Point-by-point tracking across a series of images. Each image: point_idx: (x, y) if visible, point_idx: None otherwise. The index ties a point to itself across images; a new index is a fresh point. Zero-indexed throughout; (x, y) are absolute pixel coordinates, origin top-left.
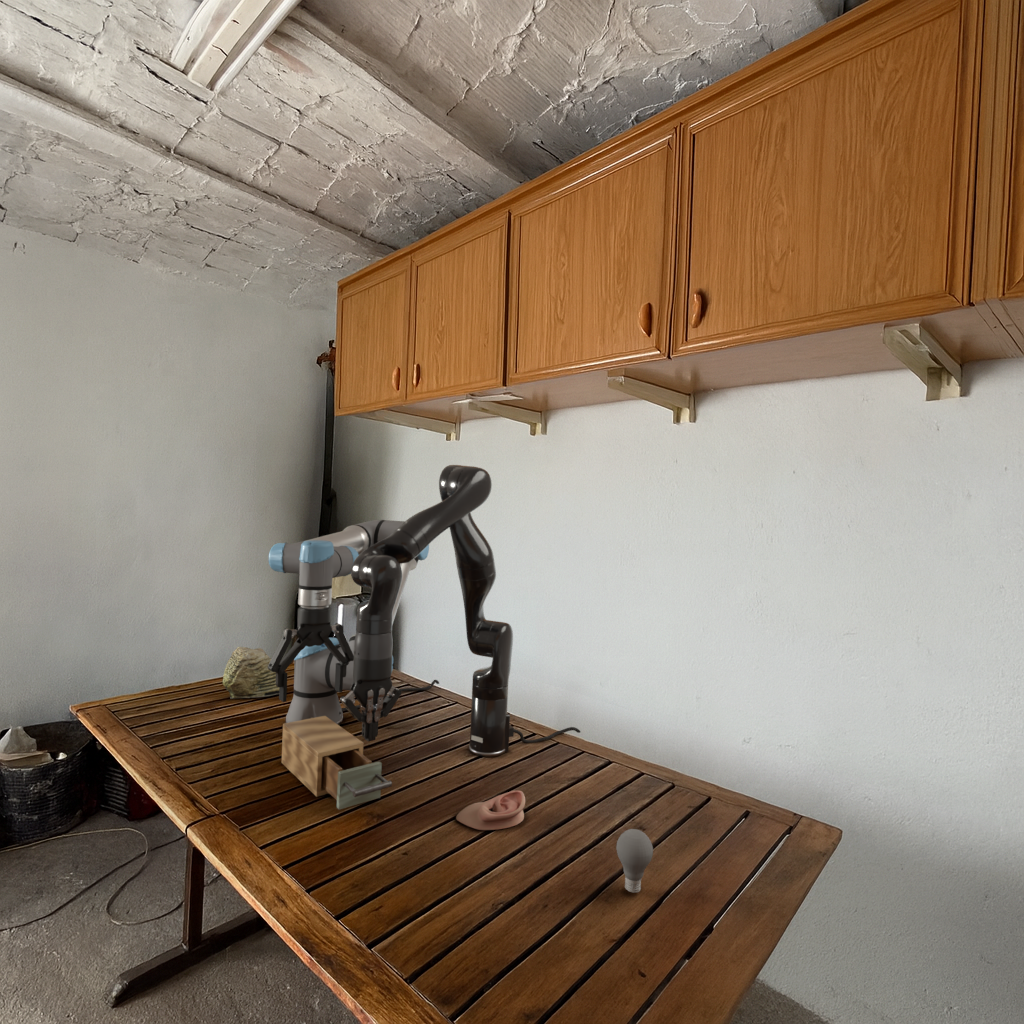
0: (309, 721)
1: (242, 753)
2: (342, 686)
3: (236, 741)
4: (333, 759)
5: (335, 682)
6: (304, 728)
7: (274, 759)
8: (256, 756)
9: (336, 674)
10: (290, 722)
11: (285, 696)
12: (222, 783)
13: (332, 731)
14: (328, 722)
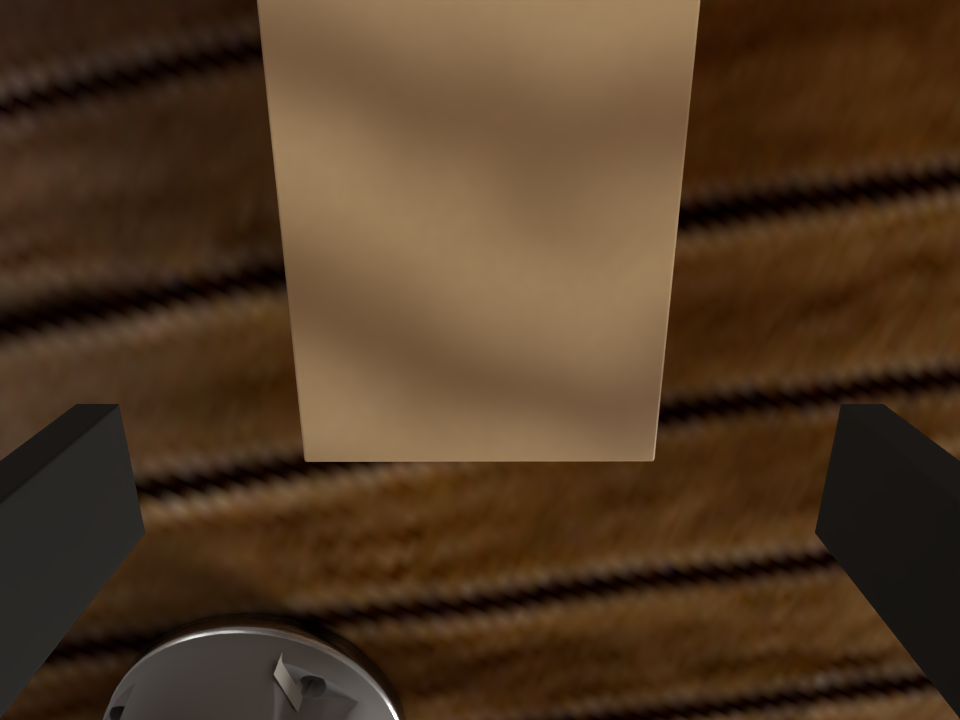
0: (462, 404)
1: (706, 559)
2: (30, 440)
3: (668, 692)
4: None
5: (90, 585)
6: (561, 277)
7: None
8: (668, 494)
9: (3, 664)
10: (596, 457)
11: (893, 436)
12: (951, 274)
13: (382, 66)
14: (334, 303)
